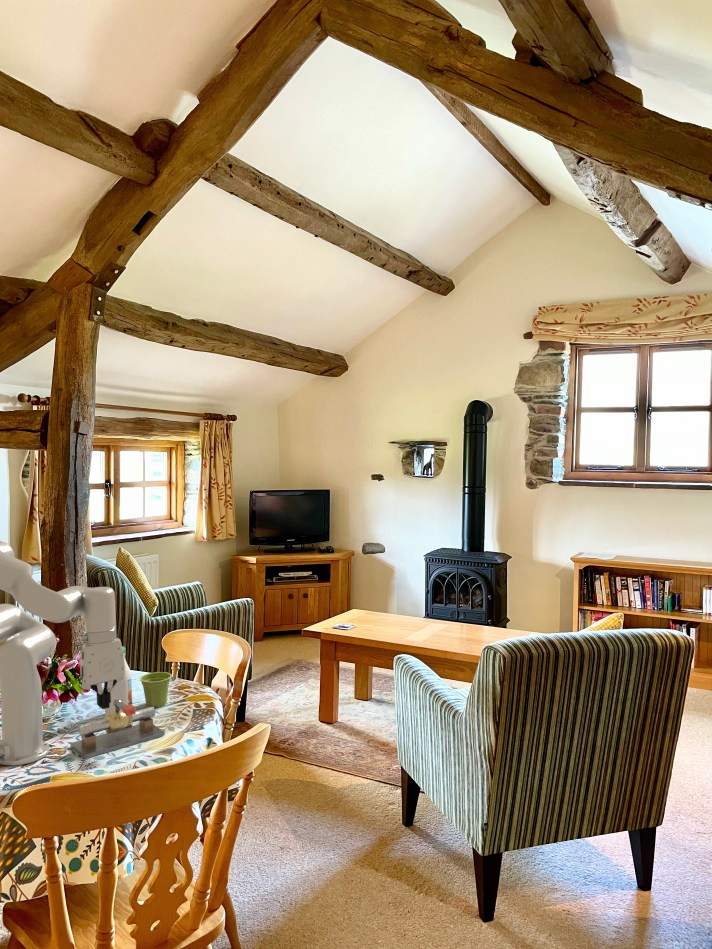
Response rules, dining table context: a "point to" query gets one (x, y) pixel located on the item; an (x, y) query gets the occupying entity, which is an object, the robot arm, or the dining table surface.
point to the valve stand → (116, 732)
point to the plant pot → (156, 688)
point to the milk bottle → (121, 689)
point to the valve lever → (125, 707)
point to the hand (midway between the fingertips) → (104, 707)
